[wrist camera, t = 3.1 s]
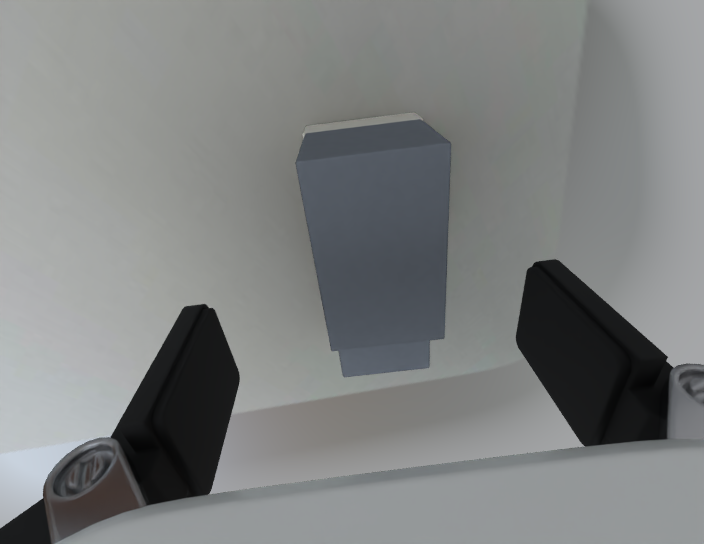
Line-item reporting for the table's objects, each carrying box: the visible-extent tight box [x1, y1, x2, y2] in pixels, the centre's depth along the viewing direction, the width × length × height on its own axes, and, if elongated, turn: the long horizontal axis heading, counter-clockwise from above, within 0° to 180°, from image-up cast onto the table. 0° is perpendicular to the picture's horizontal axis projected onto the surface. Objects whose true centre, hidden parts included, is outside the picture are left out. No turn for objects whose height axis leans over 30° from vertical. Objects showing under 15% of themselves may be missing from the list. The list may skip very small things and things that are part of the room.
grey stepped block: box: [296, 112, 451, 377], centre depth 15 cm, size 11×4×6 cm, turn 6°
